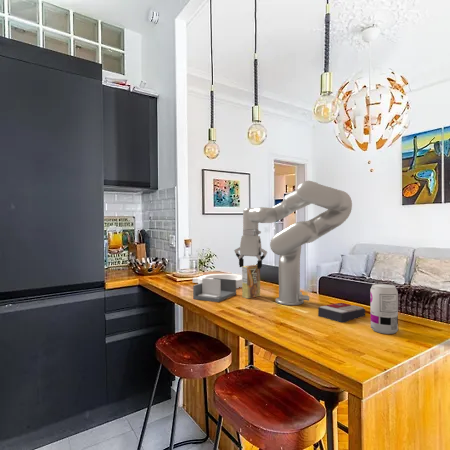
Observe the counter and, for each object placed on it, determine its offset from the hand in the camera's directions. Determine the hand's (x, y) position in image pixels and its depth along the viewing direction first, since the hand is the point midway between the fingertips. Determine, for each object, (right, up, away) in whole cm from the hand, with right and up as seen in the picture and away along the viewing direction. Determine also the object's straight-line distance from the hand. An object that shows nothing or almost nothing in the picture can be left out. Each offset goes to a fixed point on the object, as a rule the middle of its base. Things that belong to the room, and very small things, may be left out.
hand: (250, 267), depth 159 cm
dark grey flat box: (+33, -15, -34) cm, 50 cm away
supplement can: (+41, -14, -51) cm, 67 cm away
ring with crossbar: (-14, -15, +32) cm, 38 cm away
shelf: (-17, -15, +1) cm, 23 cm away
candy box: (+1, -15, 0) cm, 15 cm away
